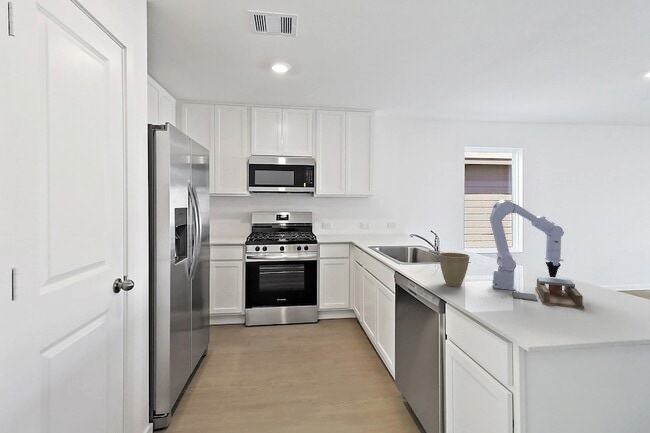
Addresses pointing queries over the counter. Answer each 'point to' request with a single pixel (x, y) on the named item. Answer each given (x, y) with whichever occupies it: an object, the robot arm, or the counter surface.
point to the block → (555, 289)
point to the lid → (556, 281)
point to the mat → (524, 296)
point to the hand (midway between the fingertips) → (552, 277)
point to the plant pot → (454, 267)
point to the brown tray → (560, 296)
